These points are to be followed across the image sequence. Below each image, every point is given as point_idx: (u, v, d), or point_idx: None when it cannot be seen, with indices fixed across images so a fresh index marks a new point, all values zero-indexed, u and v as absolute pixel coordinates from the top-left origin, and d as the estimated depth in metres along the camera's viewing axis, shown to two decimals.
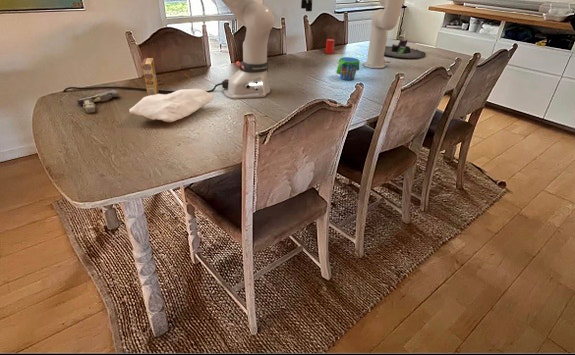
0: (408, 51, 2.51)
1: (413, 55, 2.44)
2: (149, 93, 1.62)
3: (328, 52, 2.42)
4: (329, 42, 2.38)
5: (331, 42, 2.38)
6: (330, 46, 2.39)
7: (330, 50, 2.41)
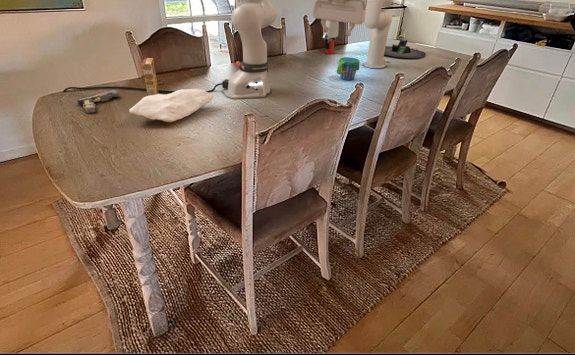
0: (408, 51, 2.51)
1: (413, 55, 2.44)
2: (149, 93, 1.62)
3: (328, 52, 2.42)
4: (329, 42, 2.38)
5: (331, 42, 2.38)
6: (330, 46, 2.39)
7: (330, 50, 2.41)
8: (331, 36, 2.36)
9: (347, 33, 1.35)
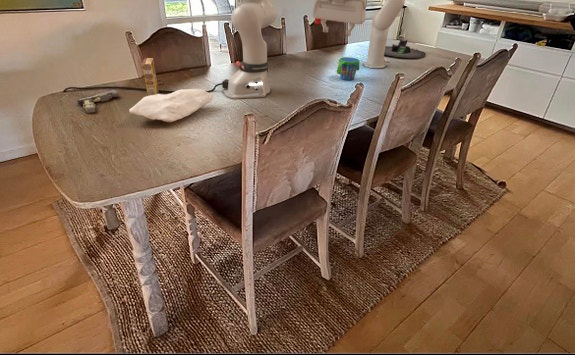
0: (408, 51, 2.51)
1: (413, 55, 2.44)
2: (149, 93, 1.62)
3: (320, 22, 2.10)
4: None
5: None
6: None
7: None
8: None
9: (347, 33, 1.35)
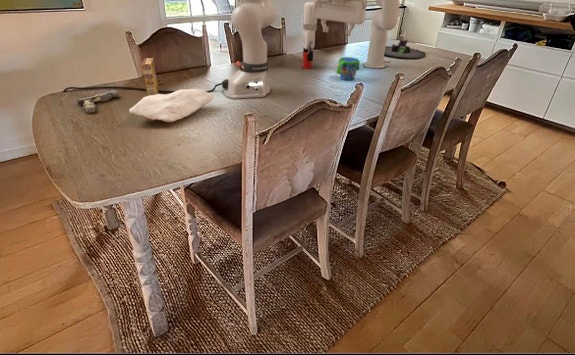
0: (408, 51, 2.51)
1: (413, 55, 2.44)
2: (149, 93, 1.62)
3: (310, 67, 2.11)
4: None
5: None
6: None
7: (311, 64, 2.11)
8: None
9: (347, 33, 1.35)
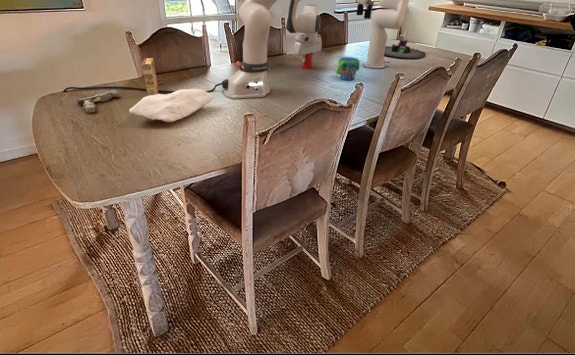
0: (408, 51, 2.51)
1: (413, 55, 2.44)
2: (149, 93, 1.62)
3: (310, 67, 2.11)
4: (310, 55, 2.08)
5: None
6: (311, 59, 2.10)
7: (311, 64, 2.11)
8: None
9: (312, 58, 2.12)
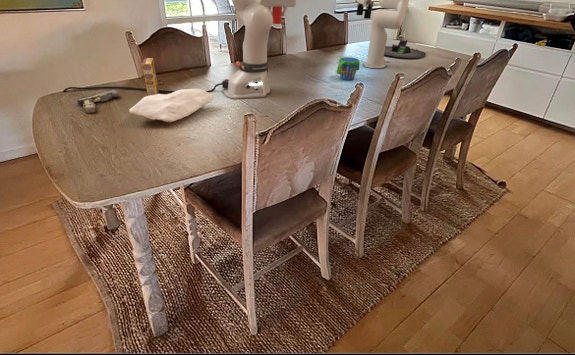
0: (408, 51, 2.51)
1: (413, 55, 2.44)
2: (149, 93, 1.62)
3: (277, 22, 1.97)
4: (278, 9, 1.94)
5: (280, 9, 1.94)
6: (279, 14, 1.95)
7: (279, 19, 1.97)
8: None
9: (283, 14, 1.97)
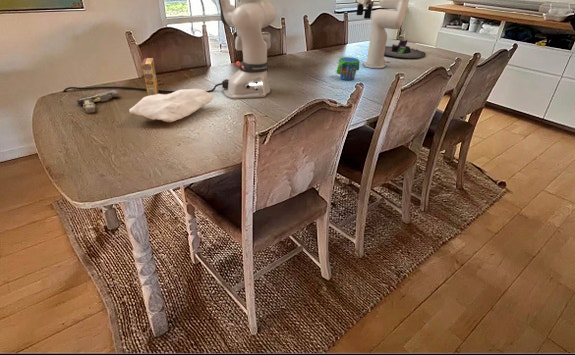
0: (408, 51, 2.51)
1: (413, 55, 2.44)
2: (149, 93, 1.62)
3: None
4: None
5: None
6: None
7: None
8: None
9: None
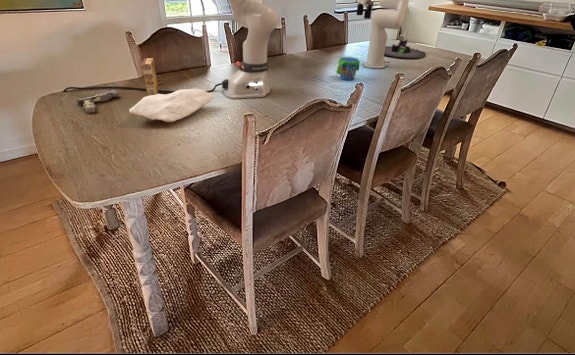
0: (408, 51, 2.51)
1: (413, 55, 2.44)
2: (149, 93, 1.62)
3: None
4: None
5: None
6: None
7: None
8: None
9: None
